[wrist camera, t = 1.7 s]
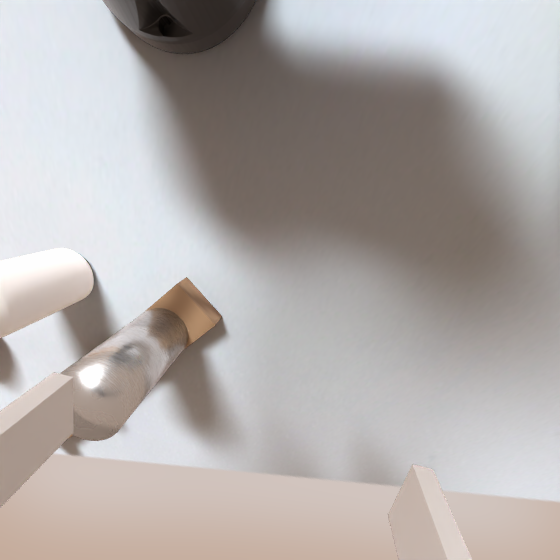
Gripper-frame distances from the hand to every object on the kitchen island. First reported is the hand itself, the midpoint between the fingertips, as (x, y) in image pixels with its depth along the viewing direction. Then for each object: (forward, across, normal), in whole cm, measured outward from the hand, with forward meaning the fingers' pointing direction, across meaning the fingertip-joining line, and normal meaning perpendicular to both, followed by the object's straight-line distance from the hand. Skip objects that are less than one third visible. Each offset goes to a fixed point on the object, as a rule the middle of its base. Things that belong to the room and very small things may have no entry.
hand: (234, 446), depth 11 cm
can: (+22, -25, -6) cm, 34 cm away
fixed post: (+20, -12, -9) cm, 25 cm away
